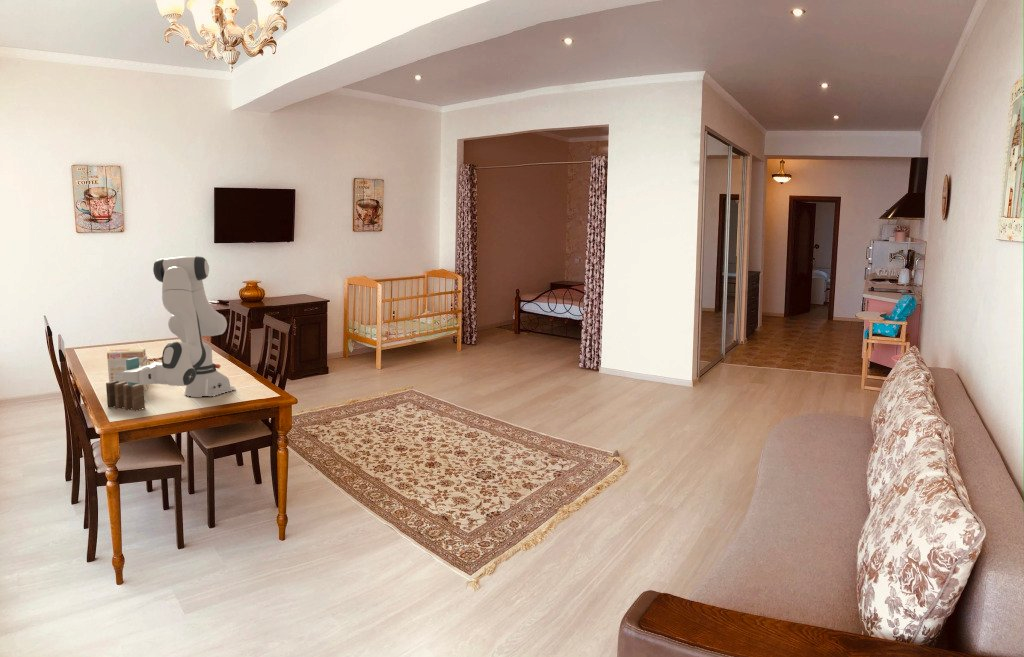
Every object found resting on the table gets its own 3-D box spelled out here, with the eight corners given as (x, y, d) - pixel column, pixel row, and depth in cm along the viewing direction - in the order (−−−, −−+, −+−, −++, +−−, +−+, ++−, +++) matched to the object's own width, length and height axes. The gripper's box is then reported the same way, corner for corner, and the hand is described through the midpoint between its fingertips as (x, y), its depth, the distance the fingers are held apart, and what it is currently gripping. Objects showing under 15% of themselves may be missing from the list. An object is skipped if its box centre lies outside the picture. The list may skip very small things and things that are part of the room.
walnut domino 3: (145, 408, 293) (143, 383, 291) (135, 411, 288) (134, 386, 287) (142, 407, 294) (140, 383, 292) (132, 410, 289) (131, 386, 287)
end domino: (120, 404, 297) (118, 380, 295) (110, 407, 292) (108, 383, 290) (117, 404, 297) (115, 380, 295) (107, 407, 292) (105, 383, 291)
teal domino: (140, 382, 284) (138, 357, 282) (130, 385, 279) (129, 359, 277) (137, 382, 284) (135, 357, 283) (127, 385, 280) (125, 359, 278)
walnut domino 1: (128, 406, 296) (126, 381, 294) (118, 408, 291) (117, 384, 289) (125, 405, 296) (123, 381, 294) (116, 408, 291) (114, 384, 289)
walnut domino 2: (136, 407, 294) (135, 382, 293) (127, 410, 290) (125, 385, 288) (133, 406, 295) (132, 382, 293) (124, 409, 290) (122, 385, 288)
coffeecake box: (148, 387, 326) (145, 348, 323) (145, 391, 320) (142, 351, 316) (113, 389, 322) (110, 349, 318) (109, 393, 315) (106, 352, 312)
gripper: (176, 360, 287) (150, 357, 290) (138, 370, 267) (110, 367, 271) (177, 374, 288) (151, 371, 292) (139, 386, 268) (111, 382, 272)
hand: (131, 369), depth 281 cm, fingers closed on teal domino, 5 cm apart
